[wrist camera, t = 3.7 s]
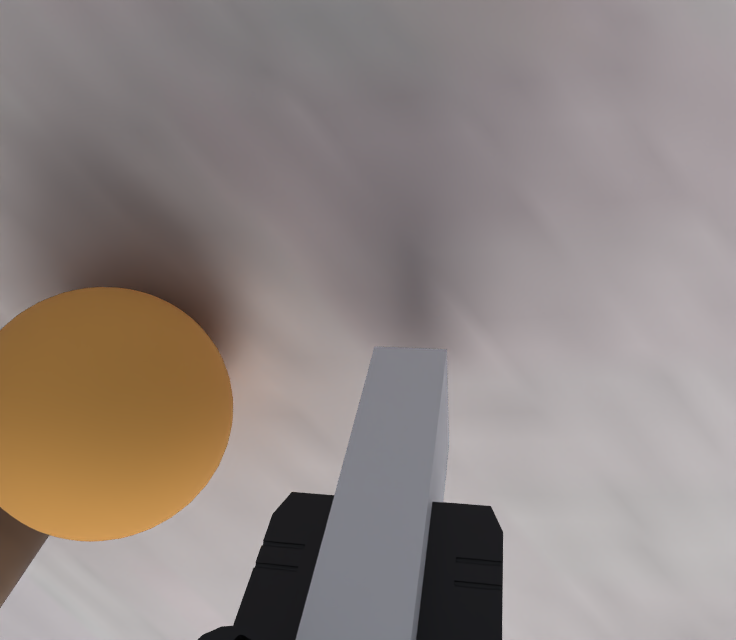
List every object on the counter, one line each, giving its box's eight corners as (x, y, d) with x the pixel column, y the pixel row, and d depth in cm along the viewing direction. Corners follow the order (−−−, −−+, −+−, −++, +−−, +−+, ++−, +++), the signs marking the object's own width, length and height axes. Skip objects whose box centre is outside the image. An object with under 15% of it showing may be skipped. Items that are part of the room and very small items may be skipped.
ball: (222, 598, 14) (271, 416, 18) (153, 396, 11) (232, 237, 15) (-27, 594, 14) (80, 419, 19) (-160, 402, 11) (5, 246, 16)
